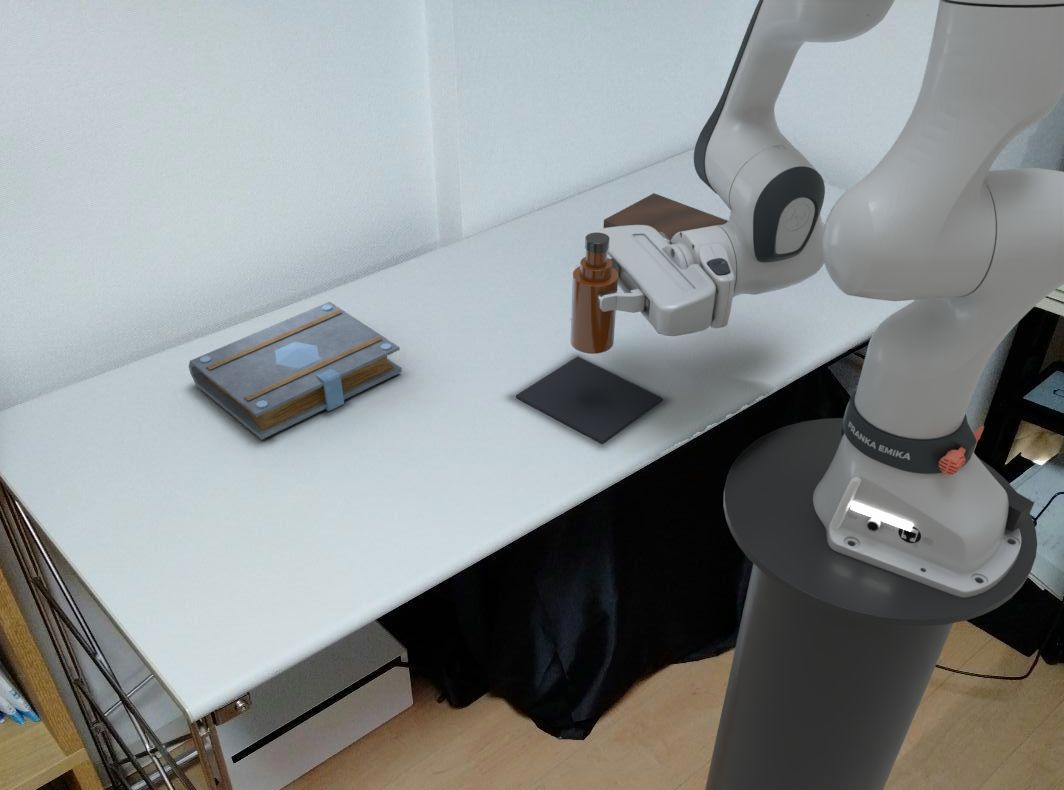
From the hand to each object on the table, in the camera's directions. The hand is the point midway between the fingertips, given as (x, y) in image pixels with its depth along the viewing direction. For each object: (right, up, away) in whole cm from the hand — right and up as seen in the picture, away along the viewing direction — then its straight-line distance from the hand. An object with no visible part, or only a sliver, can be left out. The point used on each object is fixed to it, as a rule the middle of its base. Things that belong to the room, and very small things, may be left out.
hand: (588, 288), depth 119 cm
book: (-36, -9, +14) cm, 40 cm away
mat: (+1, -11, +11) cm, 16 cm away
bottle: (+1, -5, +5) cm, 7 cm away
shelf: (+13, +12, +36) cm, 40 cm away
